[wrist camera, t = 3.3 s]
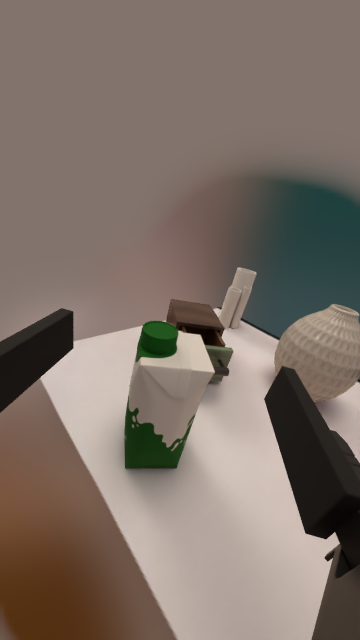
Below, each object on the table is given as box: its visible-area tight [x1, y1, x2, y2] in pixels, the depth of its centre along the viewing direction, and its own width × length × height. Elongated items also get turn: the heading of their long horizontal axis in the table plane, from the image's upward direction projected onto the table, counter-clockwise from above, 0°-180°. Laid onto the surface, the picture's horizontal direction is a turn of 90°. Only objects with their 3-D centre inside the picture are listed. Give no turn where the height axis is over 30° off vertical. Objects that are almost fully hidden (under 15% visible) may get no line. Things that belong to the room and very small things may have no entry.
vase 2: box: [274, 304, 360, 402], centre depth 47 cm, size 16×16×22 cm
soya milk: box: [125, 321, 215, 468], centre depth 28 cm, size 9×9×20 cm
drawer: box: [179, 325, 233, 381], centre depth 48 cm, size 17×11×8 cm, turn 8°
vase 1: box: [219, 268, 256, 329], centre depth 75 cm, size 11×7×20 cm, turn 156°
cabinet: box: [166, 299, 224, 337], centre depth 57 cm, size 14×12×10 cm
